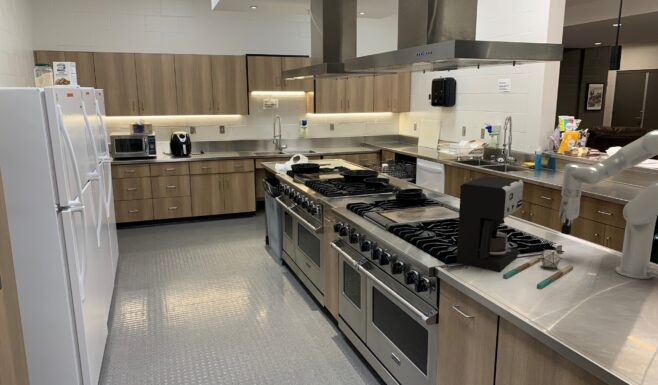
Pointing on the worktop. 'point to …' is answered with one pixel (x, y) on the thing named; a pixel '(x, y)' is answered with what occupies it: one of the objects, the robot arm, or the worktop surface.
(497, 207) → the coffee maker
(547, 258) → the game die
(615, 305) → the worktop surface
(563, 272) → the pair of wooden rods
